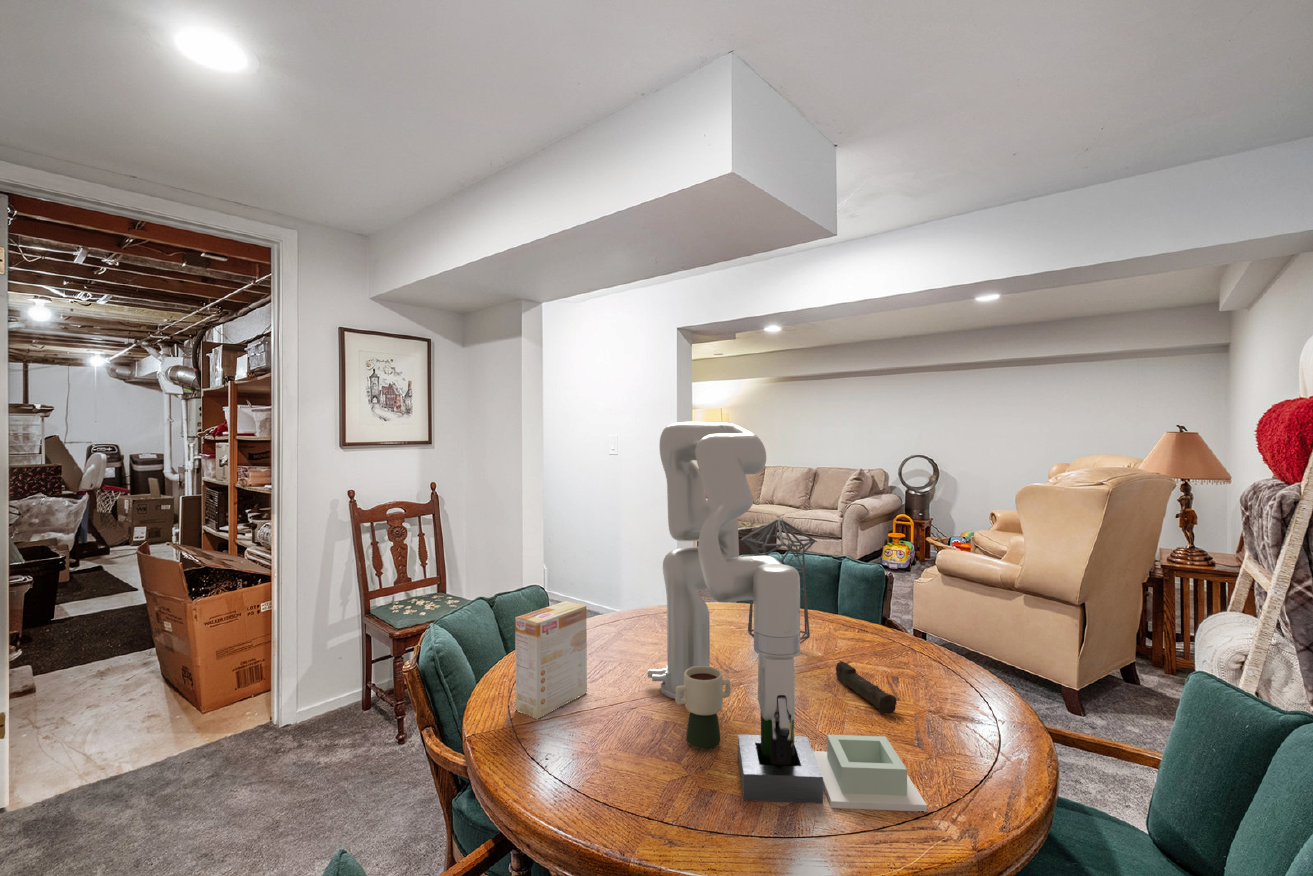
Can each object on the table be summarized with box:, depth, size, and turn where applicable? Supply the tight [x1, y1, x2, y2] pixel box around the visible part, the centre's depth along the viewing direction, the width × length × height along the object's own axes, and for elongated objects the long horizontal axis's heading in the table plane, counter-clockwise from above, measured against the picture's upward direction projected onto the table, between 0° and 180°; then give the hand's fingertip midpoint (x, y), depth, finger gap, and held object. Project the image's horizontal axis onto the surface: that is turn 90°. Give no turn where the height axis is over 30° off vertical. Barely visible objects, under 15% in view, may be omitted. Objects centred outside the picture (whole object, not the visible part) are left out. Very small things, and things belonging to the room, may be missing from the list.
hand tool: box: [835, 661, 897, 715], centre depth 124 cm, size 19×4×5 cm, turn 12°
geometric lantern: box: [741, 519, 818, 645], centre depth 150 cm, size 16×16×35 cm
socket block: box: [737, 733, 824, 804], centre depth 92 cm, size 12×12×4 cm
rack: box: [813, 734, 928, 813], centre depth 91 cm, size 14×14×5 cm
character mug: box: [674, 666, 731, 751], centre depth 103 cm, size 11×7×13 cm, turn 108°
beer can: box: [760, 712, 795, 766], centre depth 92 cm, size 5×5×12 cm
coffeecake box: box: [514, 600, 588, 720], centre depth 120 cm, size 15×7×20 cm, turn 145°
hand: (777, 750), depth 92 cm, fingers open, 6 cm apart
